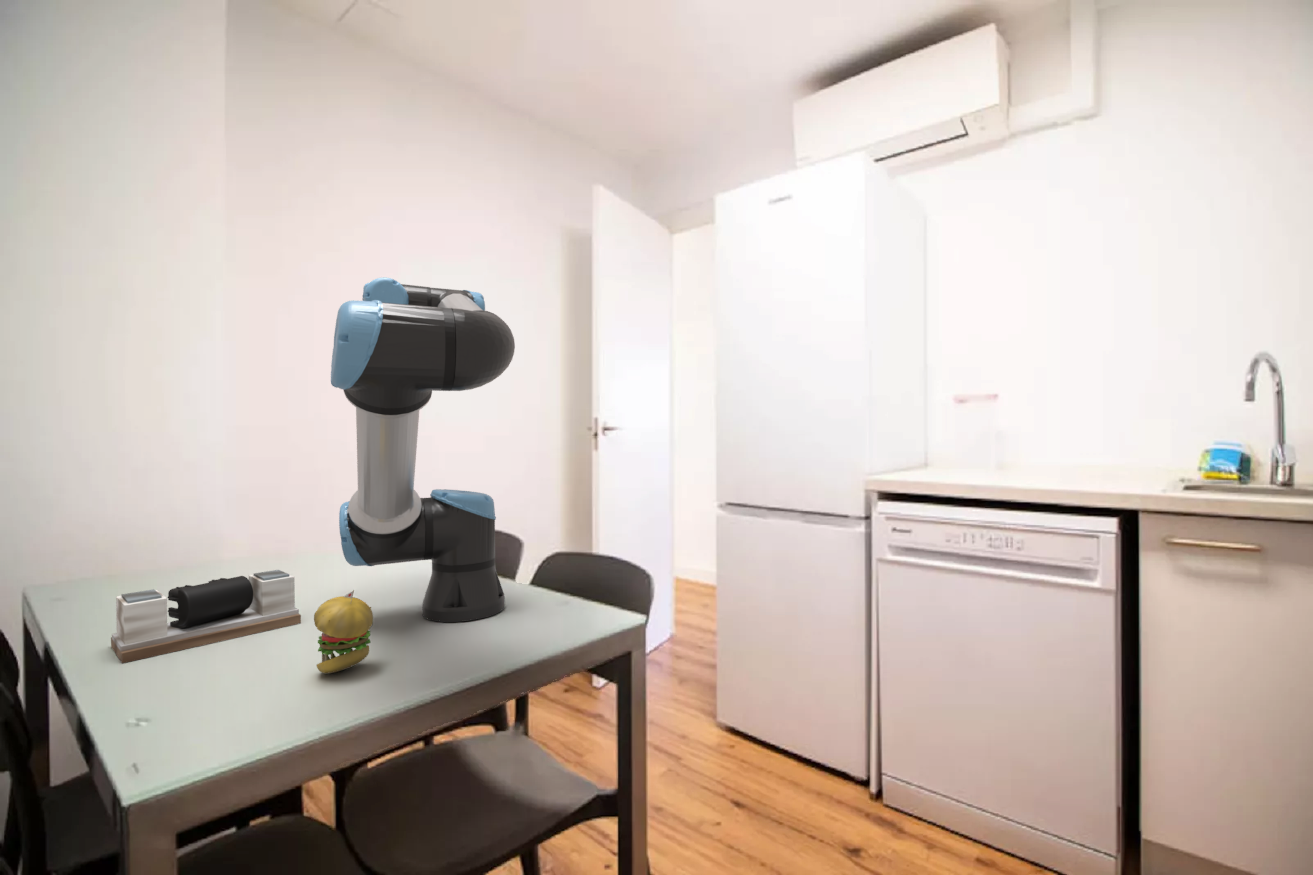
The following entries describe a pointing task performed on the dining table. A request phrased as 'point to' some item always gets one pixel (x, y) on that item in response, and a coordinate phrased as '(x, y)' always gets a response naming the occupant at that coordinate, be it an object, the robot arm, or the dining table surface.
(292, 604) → the rail board
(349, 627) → the hamburger
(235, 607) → the end cap
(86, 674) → the dining table surface
